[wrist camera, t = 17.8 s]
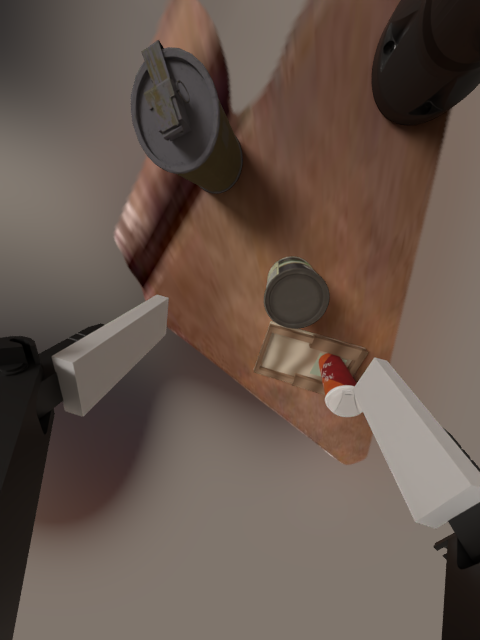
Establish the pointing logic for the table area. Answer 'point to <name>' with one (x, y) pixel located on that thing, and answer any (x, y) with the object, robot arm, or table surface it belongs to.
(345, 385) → the paper cup
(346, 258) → the table surface
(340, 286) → the table surface
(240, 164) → the canister
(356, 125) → the table surface
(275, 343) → the keyhole slot
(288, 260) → the coffee can
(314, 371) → the seat pad
